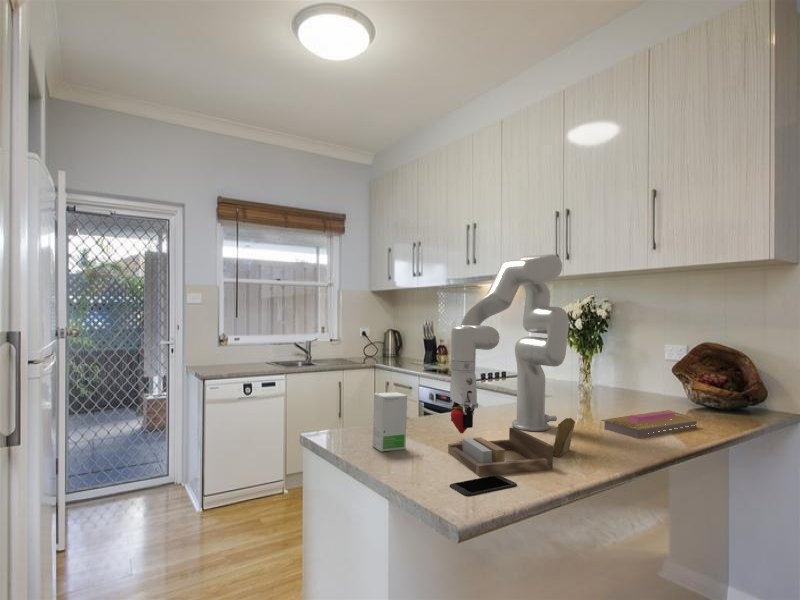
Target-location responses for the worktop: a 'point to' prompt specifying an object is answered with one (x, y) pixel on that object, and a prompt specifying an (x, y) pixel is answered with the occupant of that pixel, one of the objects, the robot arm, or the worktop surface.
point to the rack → (518, 442)
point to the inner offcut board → (493, 450)
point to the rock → (563, 437)
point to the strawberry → (458, 418)
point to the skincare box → (389, 421)
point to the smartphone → (482, 485)
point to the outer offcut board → (477, 451)
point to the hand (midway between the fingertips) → (461, 423)
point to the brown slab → (650, 424)
